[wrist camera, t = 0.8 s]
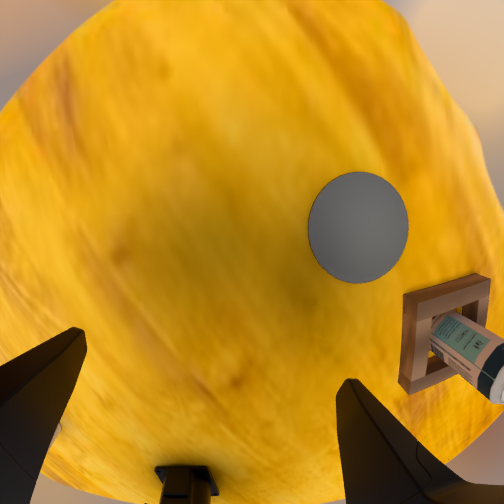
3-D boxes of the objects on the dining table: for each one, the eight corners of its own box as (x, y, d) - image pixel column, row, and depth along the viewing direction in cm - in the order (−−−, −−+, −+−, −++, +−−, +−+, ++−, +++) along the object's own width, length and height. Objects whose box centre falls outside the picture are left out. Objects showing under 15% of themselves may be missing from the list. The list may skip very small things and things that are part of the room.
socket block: (466, 354, 26) (478, 363, 24) (398, 382, 26) (408, 395, 23) (475, 273, 24) (490, 278, 22) (403, 294, 24) (417, 303, 22)
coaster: (408, 271, 24) (410, 272, 23) (314, 291, 24) (315, 292, 23) (399, 169, 22) (402, 168, 22) (300, 178, 22) (301, 178, 22)
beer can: (446, 349, 26) (515, 404, 14) (416, 349, 25) (487, 413, 14) (461, 309, 25) (540, 353, 13) (432, 304, 25) (516, 356, 13)
